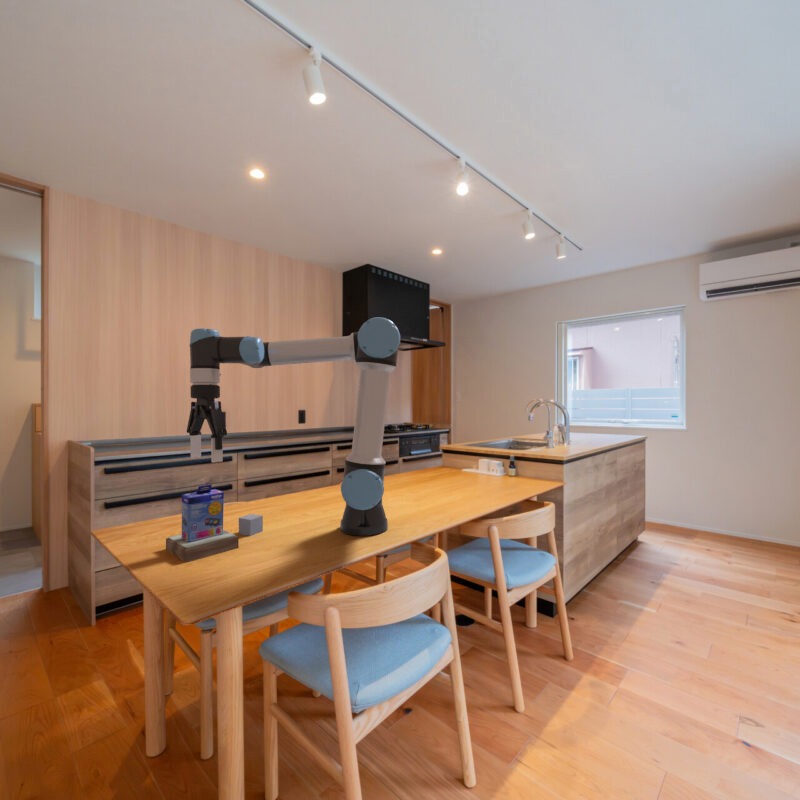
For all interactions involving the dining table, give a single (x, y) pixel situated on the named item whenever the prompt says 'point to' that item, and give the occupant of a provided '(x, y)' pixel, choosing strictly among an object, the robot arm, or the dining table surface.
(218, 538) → the podium
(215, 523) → the ink cartridge box
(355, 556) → the dining table surface
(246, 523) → the slate block
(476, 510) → the dining table surface
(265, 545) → the dining table surface
